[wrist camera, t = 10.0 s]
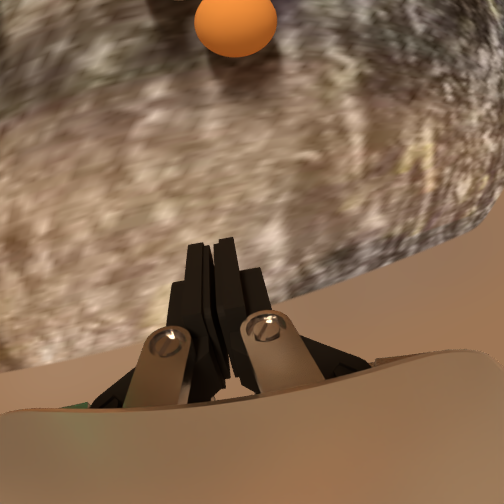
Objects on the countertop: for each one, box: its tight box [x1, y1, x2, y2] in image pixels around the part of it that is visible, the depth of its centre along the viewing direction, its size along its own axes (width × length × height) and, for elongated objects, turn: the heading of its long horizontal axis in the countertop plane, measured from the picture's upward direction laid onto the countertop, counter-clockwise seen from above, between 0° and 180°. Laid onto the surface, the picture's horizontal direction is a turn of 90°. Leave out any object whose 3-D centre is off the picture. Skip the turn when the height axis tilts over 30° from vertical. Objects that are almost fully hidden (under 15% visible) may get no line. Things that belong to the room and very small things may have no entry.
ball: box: [194, 0, 277, 57], centre depth 18 cm, size 6×6×6 cm
